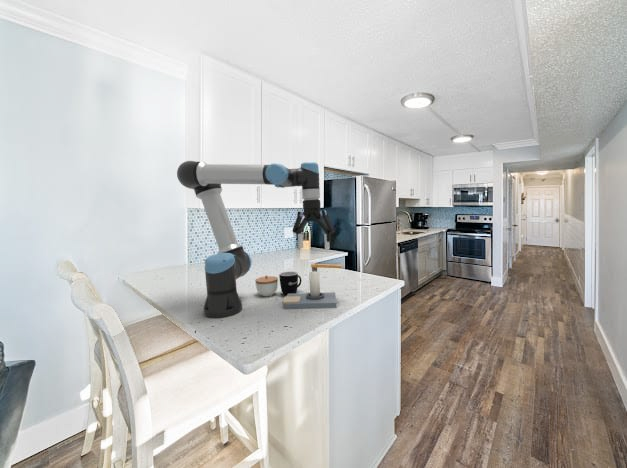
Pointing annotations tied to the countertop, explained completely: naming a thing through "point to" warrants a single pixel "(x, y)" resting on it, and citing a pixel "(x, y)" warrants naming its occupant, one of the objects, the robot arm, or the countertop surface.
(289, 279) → the mug
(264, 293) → the lidded jar
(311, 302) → the grey base with post
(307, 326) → the countertop surface
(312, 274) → the white cylinder
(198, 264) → the countertop surface
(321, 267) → the clip
